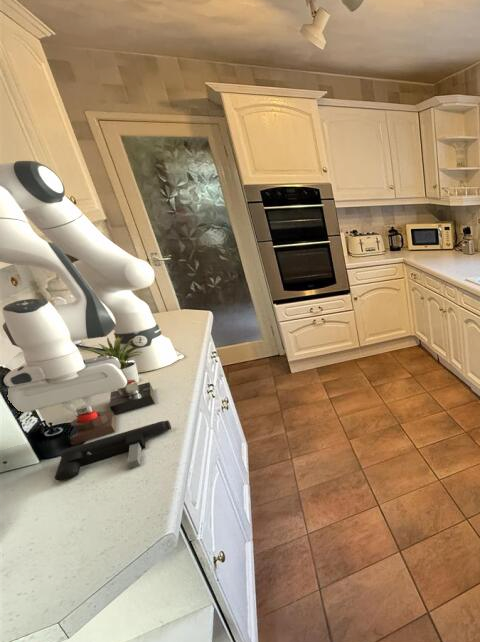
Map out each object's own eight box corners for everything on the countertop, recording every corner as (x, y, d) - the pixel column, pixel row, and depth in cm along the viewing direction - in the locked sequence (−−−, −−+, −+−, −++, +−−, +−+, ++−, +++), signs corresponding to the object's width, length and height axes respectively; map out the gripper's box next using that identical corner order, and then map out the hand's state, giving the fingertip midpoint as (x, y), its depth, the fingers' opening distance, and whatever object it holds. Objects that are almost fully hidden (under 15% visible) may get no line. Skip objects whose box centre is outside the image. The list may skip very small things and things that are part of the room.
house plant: (119, 397, 122) (95, 348, 115) (85, 394, 125) (59, 346, 118) (164, 376, 135) (145, 331, 128) (133, 374, 137) (112, 330, 131)
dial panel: (115, 400, 120) (110, 391, 119) (153, 390, 125) (149, 381, 124) (114, 415, 112) (109, 406, 110) (154, 404, 117) (150, 394, 116)
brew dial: (119, 398, 114) (113, 387, 113) (122, 392, 118) (116, 381, 116) (139, 394, 117) (133, 382, 115) (141, 388, 120) (136, 377, 119)
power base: (76, 429, 106) (68, 416, 104) (116, 417, 110) (109, 405, 109) (72, 445, 99) (64, 432, 97) (115, 432, 104) (108, 419, 102)
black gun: (168, 446, 93) (167, 415, 104) (45, 486, 81) (59, 446, 93) (173, 457, 94) (172, 425, 105) (54, 497, 83) (66, 457, 94)
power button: (80, 419, 103) (77, 413, 103) (99, 414, 106) (96, 408, 105) (78, 424, 101) (75, 419, 100) (98, 419, 103) (95, 413, 102)
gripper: (115, 350, 105) (137, 395, 111) (-1, 374, 93) (29, 423, 98) (115, 356, 101) (137, 403, 106) (-8, 383, 89) (24, 434, 94)
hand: (84, 413), depth 102 cm, fingers closed
